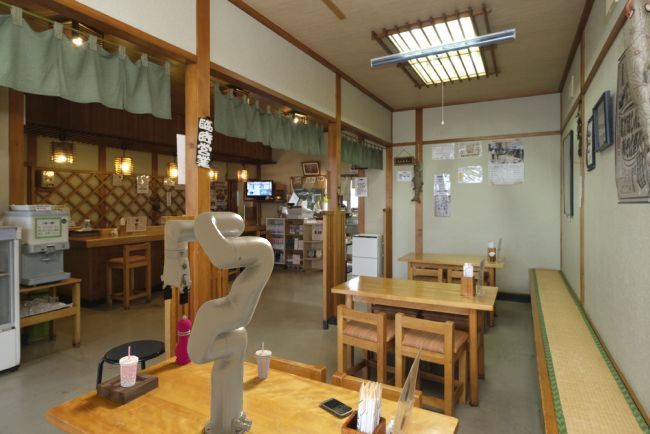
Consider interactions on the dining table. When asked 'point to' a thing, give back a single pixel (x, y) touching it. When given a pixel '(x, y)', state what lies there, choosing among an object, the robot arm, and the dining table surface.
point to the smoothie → (263, 362)
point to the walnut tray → (127, 388)
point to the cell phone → (336, 407)
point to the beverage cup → (128, 370)
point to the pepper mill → (183, 341)
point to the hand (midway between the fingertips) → (175, 301)
